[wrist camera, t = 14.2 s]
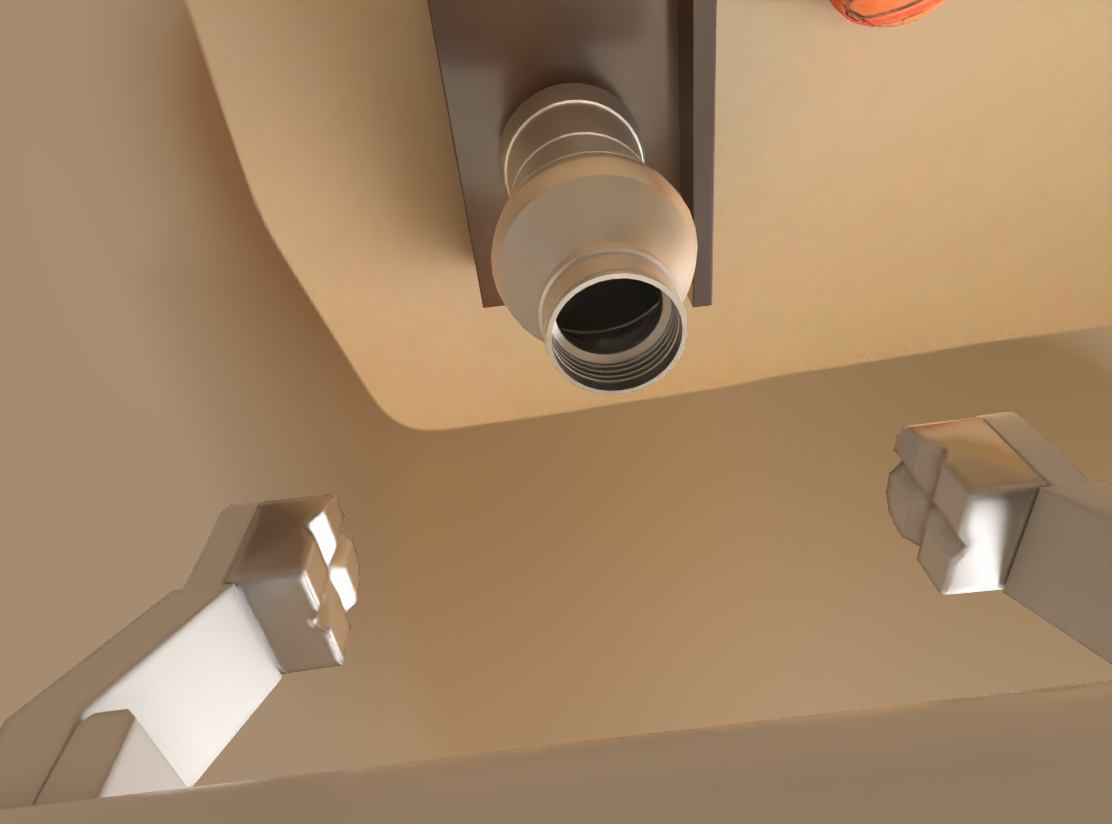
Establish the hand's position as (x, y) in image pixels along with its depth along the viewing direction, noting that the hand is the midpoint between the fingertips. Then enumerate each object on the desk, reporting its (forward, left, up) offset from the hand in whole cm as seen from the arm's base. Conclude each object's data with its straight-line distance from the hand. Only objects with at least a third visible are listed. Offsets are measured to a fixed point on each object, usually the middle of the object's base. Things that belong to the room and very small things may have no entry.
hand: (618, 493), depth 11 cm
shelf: (+1, -2, -34) cm, 34 cm away
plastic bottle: (+1, -2, -28) cm, 28 cm away
